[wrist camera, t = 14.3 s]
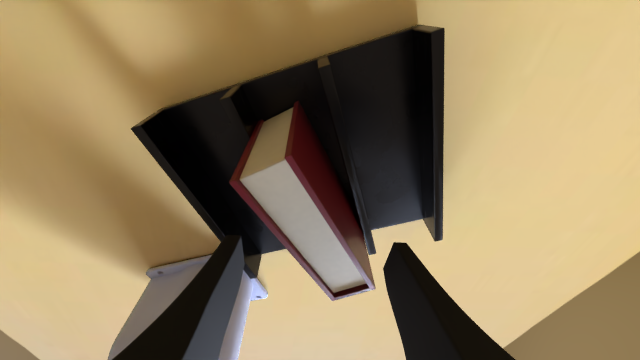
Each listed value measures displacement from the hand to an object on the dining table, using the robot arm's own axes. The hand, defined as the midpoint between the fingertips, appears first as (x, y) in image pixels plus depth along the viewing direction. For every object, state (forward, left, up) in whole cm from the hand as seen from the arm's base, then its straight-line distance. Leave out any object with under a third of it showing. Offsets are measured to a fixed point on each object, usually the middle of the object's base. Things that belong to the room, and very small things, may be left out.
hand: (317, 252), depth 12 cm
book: (0, 0, -7) cm, 7 cm away
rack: (0, 0, -7) cm, 7 cm away
